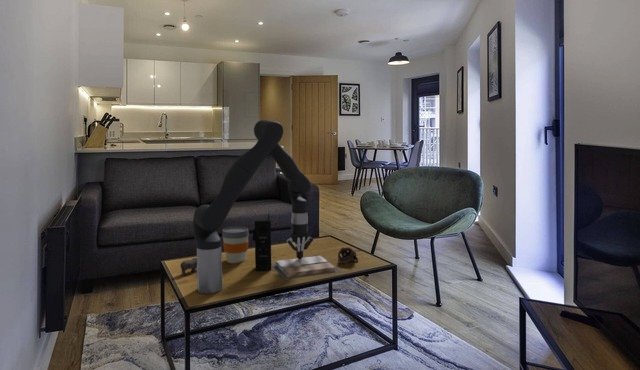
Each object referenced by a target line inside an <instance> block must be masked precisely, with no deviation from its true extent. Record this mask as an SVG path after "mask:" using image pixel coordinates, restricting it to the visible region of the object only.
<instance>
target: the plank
mask: <svg viewBox="0 0 640 370" xmlns="http://www.w3.org/2000/svg"><path fill="white" fill-rule="evenodd" d="M321 263H329V261H328V260H327V259H326V258H324V257H323V256H322V255H314V256H307V257H306V256H305V257H303V258H302V259H298V258H297V257H296V258H290V259H282V260H280V259H279V260H275V264H276V265H277V266H278V268H279V269H280V270H281V271H283V268H290V267H298V266H305V265H313V264H321Z"/></svg>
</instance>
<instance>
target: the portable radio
mask: <svg viewBox="0 0 640 370" xmlns="http://www.w3.org/2000/svg"><path fill="white" fill-rule="evenodd" d="M253 221H254V222H253V223H254V227H253V229H252V242H254V261H255V262H254V265H255V272H266V271H272V266H271V264H272V229H271V228H272V227H271V226H272V223H271V218H270V213H267V218H255V219H254V220H253Z"/></svg>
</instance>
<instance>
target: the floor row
mask: <svg viewBox="0 0 640 370" xmlns="http://www.w3.org/2000/svg"><path fill="white" fill-rule="evenodd" d="M335 268H336V266H334V265H333V264H332V263H330V262H328V263H321V264H313V265H305V266H298V267H290V268H283V273H284V274H285V275H286V276H287V277H295V276H302V275H310V274H317V273H324V272H332V271H335Z"/></svg>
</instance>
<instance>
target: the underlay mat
mask: <svg viewBox="0 0 640 370" xmlns="http://www.w3.org/2000/svg"><path fill="white" fill-rule="evenodd" d="M271 268H273V269H274V271H276V272H277V274H279V275H280V276H281V277H282V279H283V280H284V281H285V280H292V279H300V278H301V279H302V278H307V277H315V276H323V275H327V274H335V273H337V274H338V273H342V271H341V270H339V269H338V268H336V267H335V271H332V272H324V273H317V274H310V275H302V276H295V277H287V276H286V275H285V274H284V273H283V271H281V270H280V269H279V268H278V266H277V265H276V263H271Z"/></svg>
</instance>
